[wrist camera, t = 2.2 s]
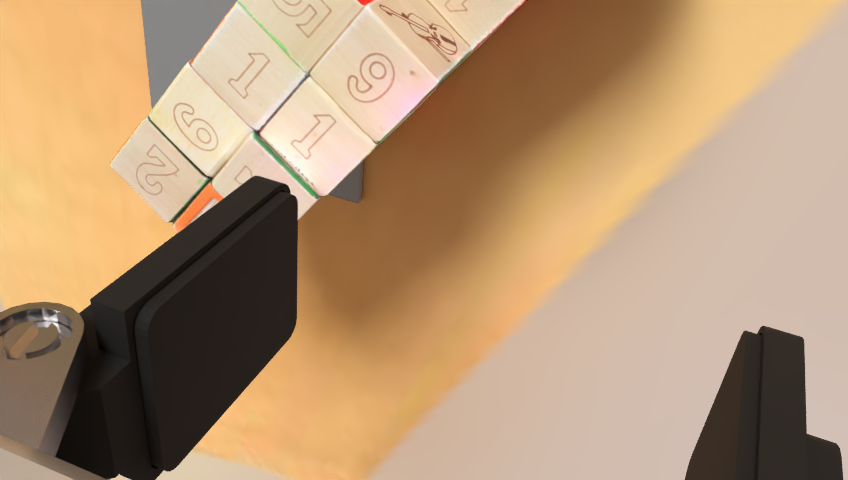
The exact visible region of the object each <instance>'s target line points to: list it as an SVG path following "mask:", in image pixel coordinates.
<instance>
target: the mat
mask: <svg viewBox="0 0 848 480" xmlns="http://www.w3.org/2000/svg"><path fill="white" fill-rule="evenodd" d="M236 2H237V0H141V5H142V15H143V25H144V35H145V45H146V55H147V65H148V75H149V85H150V95H151V105H152V109H153V107H154V106H155V105H156V104H157V102H158V101H159V100H160V98H161V97H162V96H163V94H164V93H165V92H166V90H167V89H168V87H169V86H170V85H171V83H172V82H173V81H174V79H175V78H176V76H177V75H178V74H179V73H180V71H181V70H182V69H183V67H184V66H185V65H186V64H187V63H188V62H189V61H190V60H192V59H194V58H195V57H196V55H197V54H198V52H199V51H200V50H201V48H202V47H203V46H204V44H205V43H206V42H207V40H208V39H209V38H210V36H211V35H212V33H213V32H214V31H215V29H216V28H217V26H218V25H219V24H220V22H221V21H222V20H223V18H224V17H225V16H226V14H227V13H228V12H229V11H230V9H231V8H232V7H233V6H234V4H235V3H236ZM363 167H364V160H363V161H362V162H361V163H360V164H359V165H358V166H357V167H356V168H355V169H354V170H353V171H352V172H351V173H350V174H349V175H348V176H347V177H345V178H344V179H343V180H342V181H341V182H340V183H339V185H338V186H337V187H336V188H335V189H334V190H333V191H331V192H330V193H329V195H333V196H336V197H339V198H343V199H346V200H349V201H353V202H356V203H359V202H360V201H361V199H362V183H363Z"/></svg>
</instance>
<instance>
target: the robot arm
mask: <svg viewBox="0 0 848 480" xmlns="http://www.w3.org/2000/svg"><path fill="white" fill-rule="evenodd" d="M297 241H298V200H297V198H296V196H295V195H292V194H291V192H290V189H289V186H288V185H287V184H284V183H281V182H278V181H274V180H271V179H268V178H264V177H261V176H253V177H251V178H250V179H248V180H247V181H246V182H245V183H243V184H242V185H241V186H239V187H238V188H237V189H235V190H234V191H233V192H231V193H230V194H229V195H227V196H226V197H225V198H223V199H222V200H221V201H219V202H218V203H217V204H216V205H214V206H213V207H212V208H210V209H209V210H208V211H206V212H205V213H204V214H202V215H201V216H200V217H198V218H197V219H196V220H194V221H193V222H192V223H190V224H189V225H188V226H186V227H185V228H184V229H183V230H181V231H180V232H179V233H177V234H176V235H175V236H173V237H172V238H171V239H169V240H168V241H167V242H165V243H164V244H163V245H161V246H160V247H159V248H157V249H156V250H155V251H153V252H152V253H151V254H150V255H148V256H147V257H146V258H144V259H143V260H142V261H140V262H139V263H138V264H136V265H135V266H134V267H132V268H131V269H130V270H128V271H127V272H126V273H124V274H123V275H122V276H120V277H119V278H118V279H117V280H115V281H114V282H113V283H111V284H110V285H109V286H107V287H106V288H105V289H103V290H102V291H101V292H99V293H98V294H97V295H95V296H94V297H93V298H91V299H90V301H91V305H89V306H88V307H87V308H86V309H84V310H83V311H82V312H80V313H78V312H76V311H75V310H74V309H73V308H71V307H68V306H65V305H62V304H59V303H50V302H38V303H28V304H24V305H20V306H16V307H12V308H9V309H7V310H5V311H3V312H0V480H110V479H111V478H115V477H116V476H118V474H119V473H120V475H122V476H124V477H126V478H129V479H131V480H155V479H156V478H157V477H158V476H159V475H160V474H161V473H162V471H163V470H165V471H171V470H173V469H175V468H176V467H177V466H178V465H179V464H180V462H181V461H182V460H183V459H184V458H185V457H186V456H187V455H188V453H189V452H190V451H191V450H192V449H193V448H194V447H195V445H196V444H197V443H198V442H199V441H200V440H201V439H202V437H203V436H204V435H205V434H206V433H207V432H208V431H209V430H210V428H211V427H212V426H213V425H214V424H215V423H216V422H217V420H218V419H219V418H220V417H221V416H222V415H223V414H224V412H225V411H226V410H227V409H228V408H229V407H230V406H231V404H232V403H233V402H234V401H235V400H236V399H237V398H238V397H239V395H240V394H241V393H242V392H243V391H244V390H245V389H246V387H247V386H248V385H249V384H250V383H251V382H252V381H253V379H254V378H255V377H256V376H257V375H258V374H259V373H260V371H261V370H262V369H263V368H264V367H265V366H266V365H267V364H268V362H269V361H270V360H271V359H272V358H273V357H274V356H275V354H276V353H277V352H278V351H279V350H280V349H281V348H282V346H283V345H284V344H285V343H286V342H287V341H288V340H289V338H290V337H291V335H292V333H293V331H294V328H295V325H296V319H297ZM805 396H806V395H805V357H804V339H803V338H802V337H800V336H796V335H793V334H790V333H786V332H783V331H780V330H776V329H773V328H770V327H766V326H762V327H761V328H760V329H759V331H758V333H757V334H755V333H752V332H748V331H744V332H743V334H742V336H741V338H740V340H739V342H738V345H737V348H736V350H735V352H734V355H733V357H732V359H731V362H730V364H729V367H728V369H727V372H726V374H725V376H724V379H723V381H722V384H721V386H720V389H719V391H718V393H717V396H716V398H715V401H714V403H713V405H712V408H711V410H710V413H709V415H708V417H707V420H706V422H705V425H704V427H703V430H702V432H701V434H700V437H699V439H698V442H697V444H696V447H695V449H694V451H693V454H692V456H691V459H690V462H689V465H688V469H687V473H686V477H685V480H843V472H842V458H841V452H840V448H839V446H838V445H837V444H836V443H833V442H830V441H827V440H824V439H821V438H818V437H814V436H812V435H809V434H807V433H806V397H805Z"/></svg>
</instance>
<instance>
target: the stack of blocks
mask: <svg viewBox="0 0 848 480" xmlns="http://www.w3.org/2000/svg"><path fill="white" fill-rule="evenodd" d="M526 1H527V0H237V2H236V3H235V4H234V6H233V7H232V8H231V9H230V11H229V12H228V13H227V14H226V16H225V17H224V18H223V20H222V21H221V22H220V24H219V25H218V26H217V28H216V29H215V31H214V32H213V33H212V35H211V36H210V38H209V39H208V40H207V42H206V43H205V44H204V46H203V47H202V48H201V50H200V51H199V52H198V54H197V55H196V57H195V58H194V59H192V60H190V61H189V62H188V63H187V64H186V65H185V66H184V67H183V69H182V70H181V71H180V73H179V74H178V75H177V76H176V78H175V79H174V81H173V82H172V83H171V85H170V86H169V87H168V89H167V90H166V92H165V93H164V94H163V96H162V97H161V98H160V100H159V101H158V102H157V104H156V105H155V106H154V107H153V109H152V110H151V112H150V114H149V116H148V117H146V118H145V119H143V120H142V121H141V123H140V124H139V126H138V127H137V128H136V129H135V131H134V132H133V133H132V135H131V136H130V137H129V138H128V140H127V141H126V142H125V144H124V145H123V146H122V148H121V149H120V150H119V151H118V153H117V154H116V155H115V157H114V158H113V159H112V161H111V164H110V165H111V167H112V168H113V169H114V170H115V171H116V172H117V173H118V174H119V175H120V176H121V177H122V178H123V179H124V180H125V181H126V182H127V183H128V184H129V185H130V186H131V187H132V188H133V189H134V190H135V191H136V192H137V193H138V194H139V195H140V196H141V197H142V198H143V199H144V200H145V201H146V202H147V203H148V204H149V205H150V206H151V207H152V208H153V209H154V211H155V212H156V213H157V214H158V215H159V216H160V217H161V218H162V219H163V220H164V221H165V222H166V223H167V222H173V227H174V229H175V230H176V231H177V233H179V232H180V231H181V230H183V229H184V228H185V227H186V226H188V225H189V224H190V223H192V222H193V221H194V220H196V219H197V218H198V217H200V216H201V215H202V214H204V213H205V212H206V211H208V210H209V209H210V208H212V207H213V206H214V205H216V204H217V203H218V202H219V201H221V200H222V199H223V198H225V197H226V196H227V195H229V194H230V193H231V192H233V191H234V190H235V189H237V188H238V187H239V186H241V185H242V184H243V183H245V182H246V181H247V180H248V179H250V178H251V177H253V176H261V177H264V178H268V179H271V180H274V181H278V182H281V183H284V184H287V185H288V186H289V189H290V192H291V194H292V195H295V196H296V198H297V200H298V220H299V219H300V218H301V217H302V216H303V215H304V214H305V213H306V212H307V211H308V210H309V209H310V208H311V207H312V206H313V205H314V204H315V203H316V202H317V201H318V200H319V199H320V198H321V197H322V196H327V195H329V193H330V192H331V191H333V190H334V189H335V188H336V187H337V186H338V185H339V183H340V182H341V181H342V180H343V179H344V178H345V177H347V176H348V175H349V174H350V173H351V172H352V171H353V170H354V169H355V168H356V167H357V166H358V165H359V164H360V163H361V162H362V161H363V160H364V159H365V158H366V157H367V156H368V155H369V154H370V153H371V152H372V151H373V150H374V149H375V148H376V147H377V146H378V145H379V144H381V143H382V142H383V141H384V140H385V139H386V138H387V137H388V136H389V135H390V134H391V133H392V132H393V131H394V130H395V129H397V128H398V127H399V126H400V125H401V124H402V123H403V122H404V121H405V120H406V119H407V118H408V117H409V116H410V115H411V114H412V113H413V112H414V111H415V110H416V109H417V108H418V107H419V106H420V105H421V104H422V103H423V102H424V101H425V100H426V99H427V98H428V97H429V96H430V95H431V94H432V93H433V92H434V91H435V90H436V89H437V87H438V85H439V84H440V83H441V82H442V81H444V80H445V79H446V78H447V77H448V76H449V75H450V74H451V73H452V72H453V71H454V70H455V69H456V68H457V67H458V66H459V65H460V64H461V63H463V62H464V61H465V60H466V59H467V58H468V57H469V56H470V55H471V54H472V53H473V52H474V51H475V50H477V49H478V48H479V47H480V46H481V45H482V44H483V43H484V42H485V41H486V40H487V39H488V38H489V37H490V36H491V35H492V34H493V33H494V32H495V31H496V30H497V29H498V28H499V27H500V26H501V25H502V24H503V23H504V22H505V21H506V20H507V19H508V18H509V17H510V16H511V15H512V14H513V13H514V12H515V11H517V10H518V9H519V8H520V7H521V6H522V5H523V4H524V3H525V2H526Z"/></svg>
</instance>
